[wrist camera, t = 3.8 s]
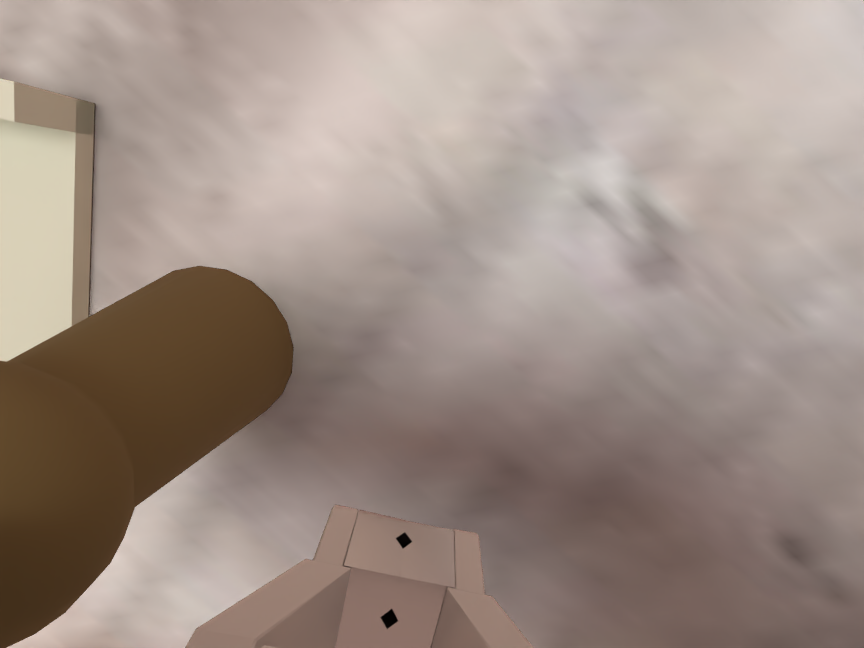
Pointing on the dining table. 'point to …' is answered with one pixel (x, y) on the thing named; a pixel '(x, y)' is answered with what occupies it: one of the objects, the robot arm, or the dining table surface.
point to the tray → (43, 214)
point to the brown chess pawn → (121, 425)
